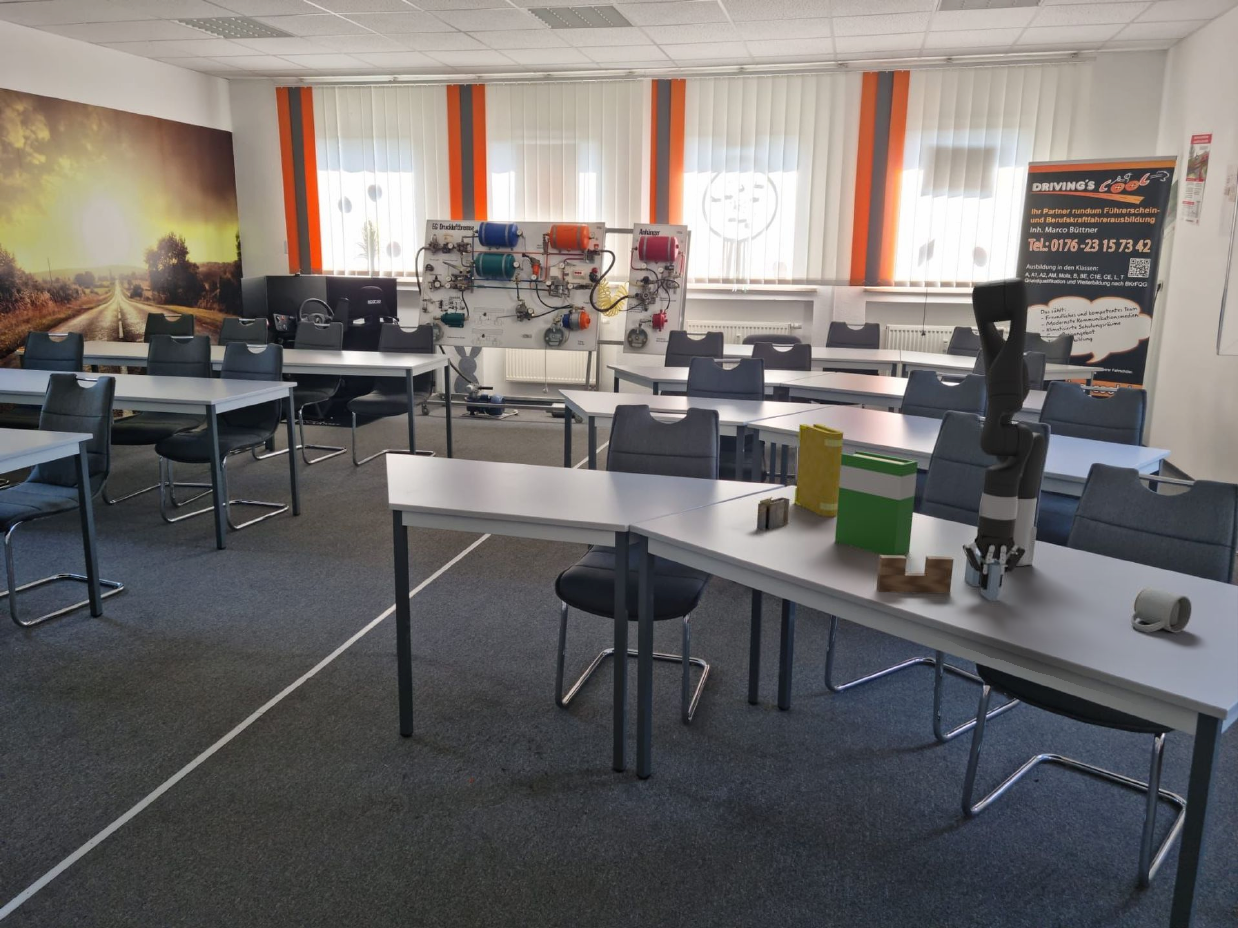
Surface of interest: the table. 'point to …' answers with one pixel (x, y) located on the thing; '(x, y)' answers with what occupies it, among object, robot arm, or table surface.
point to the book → (819, 469)
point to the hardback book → (876, 502)
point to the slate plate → (993, 578)
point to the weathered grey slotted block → (772, 513)
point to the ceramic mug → (1161, 611)
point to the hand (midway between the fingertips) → (989, 588)
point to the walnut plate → (914, 575)
